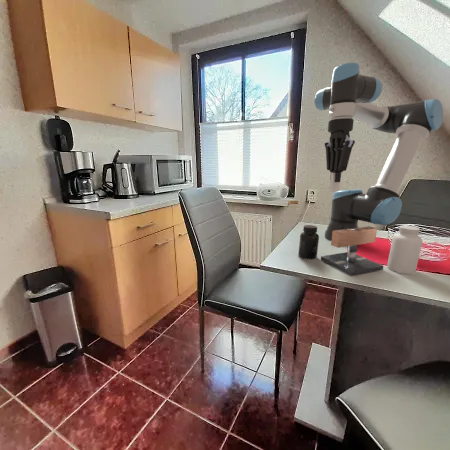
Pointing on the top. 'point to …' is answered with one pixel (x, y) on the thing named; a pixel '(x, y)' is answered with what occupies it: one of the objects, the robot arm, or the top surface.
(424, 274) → the top surface
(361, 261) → the post base
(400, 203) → the robot arm
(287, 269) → the top surface
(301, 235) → the supplement bottle
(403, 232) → the pill bottle
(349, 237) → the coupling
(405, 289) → the top surface
